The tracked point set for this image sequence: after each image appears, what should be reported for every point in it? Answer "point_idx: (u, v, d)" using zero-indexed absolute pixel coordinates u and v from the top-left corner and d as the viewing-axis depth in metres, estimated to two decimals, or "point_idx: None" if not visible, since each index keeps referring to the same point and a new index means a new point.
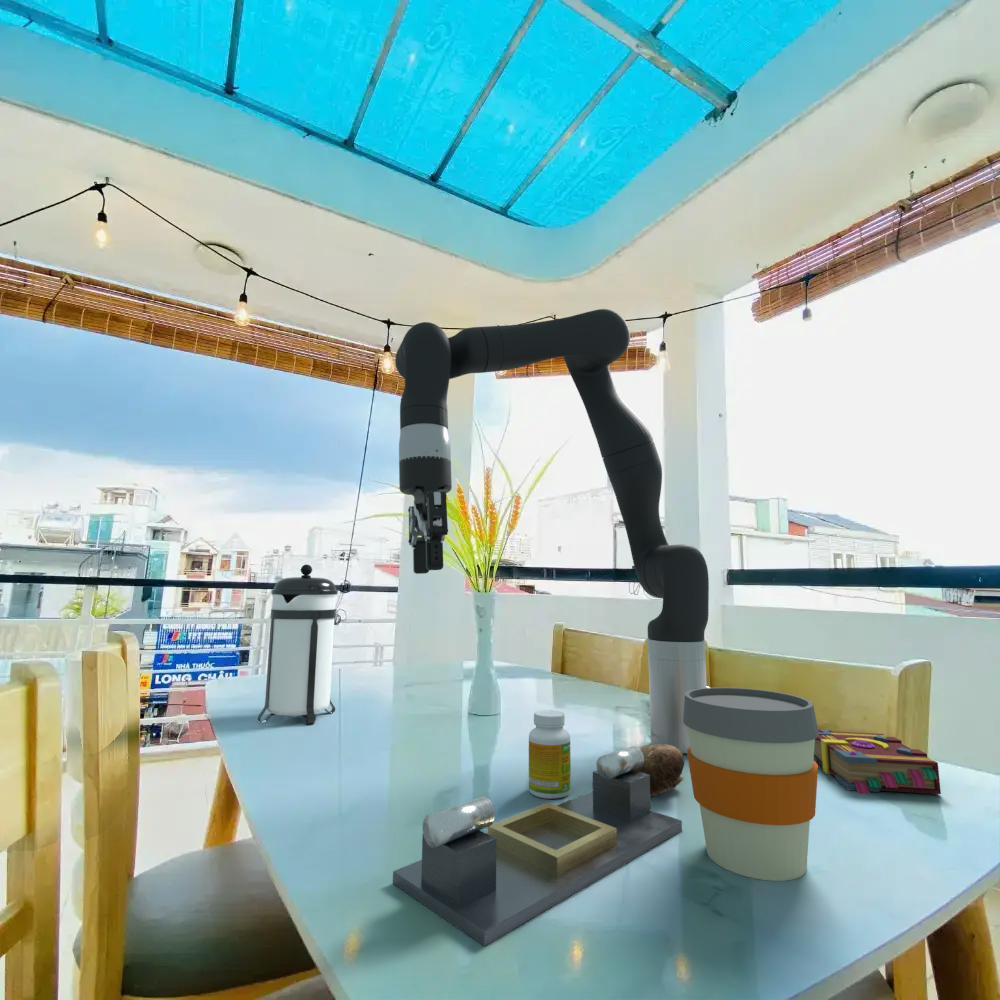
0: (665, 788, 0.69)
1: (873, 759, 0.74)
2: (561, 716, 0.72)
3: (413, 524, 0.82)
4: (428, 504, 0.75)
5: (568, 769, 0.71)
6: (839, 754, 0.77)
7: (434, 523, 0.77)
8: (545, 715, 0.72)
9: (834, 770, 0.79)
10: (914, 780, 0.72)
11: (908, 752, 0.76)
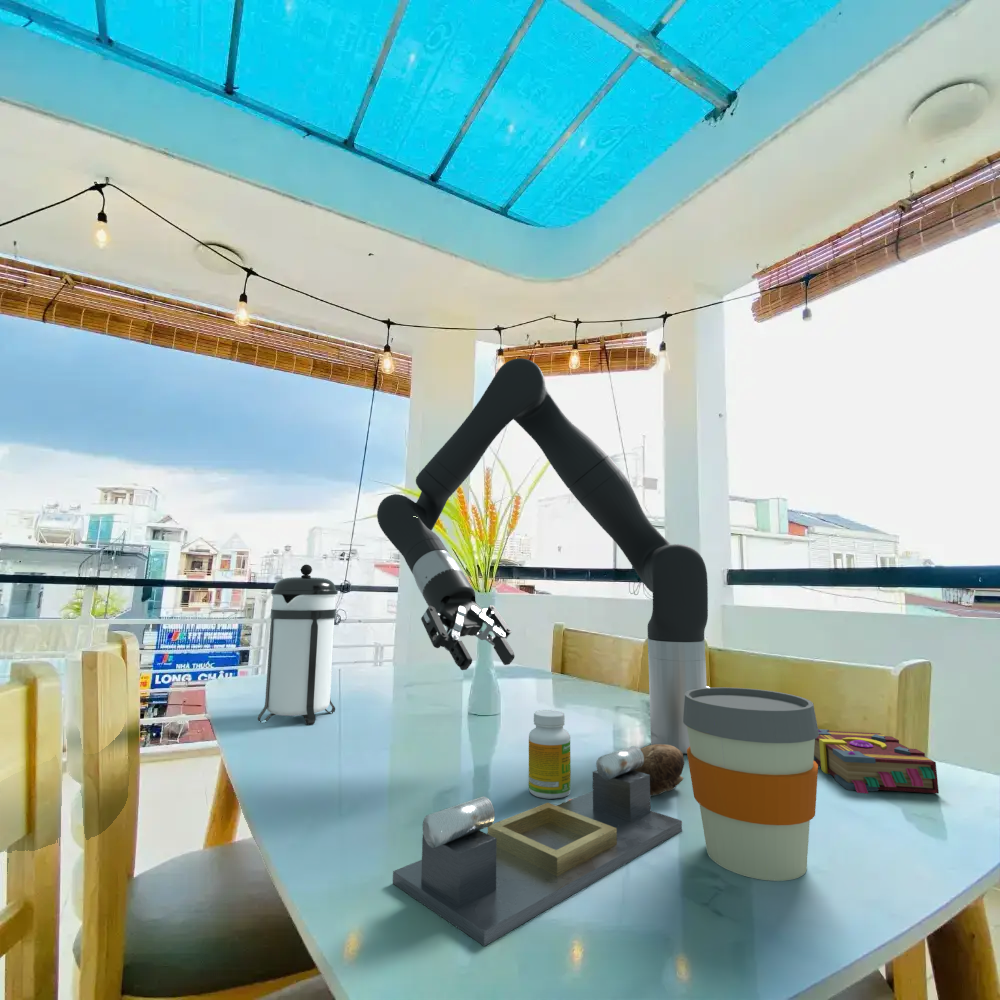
0: (665, 788, 0.69)
1: (871, 759, 0.74)
2: (561, 716, 0.72)
3: None
4: None
5: (568, 769, 0.71)
6: (837, 754, 0.77)
7: (450, 630, 0.84)
8: (545, 715, 0.72)
9: (832, 770, 0.79)
10: (912, 779, 0.73)
11: (906, 751, 0.76)
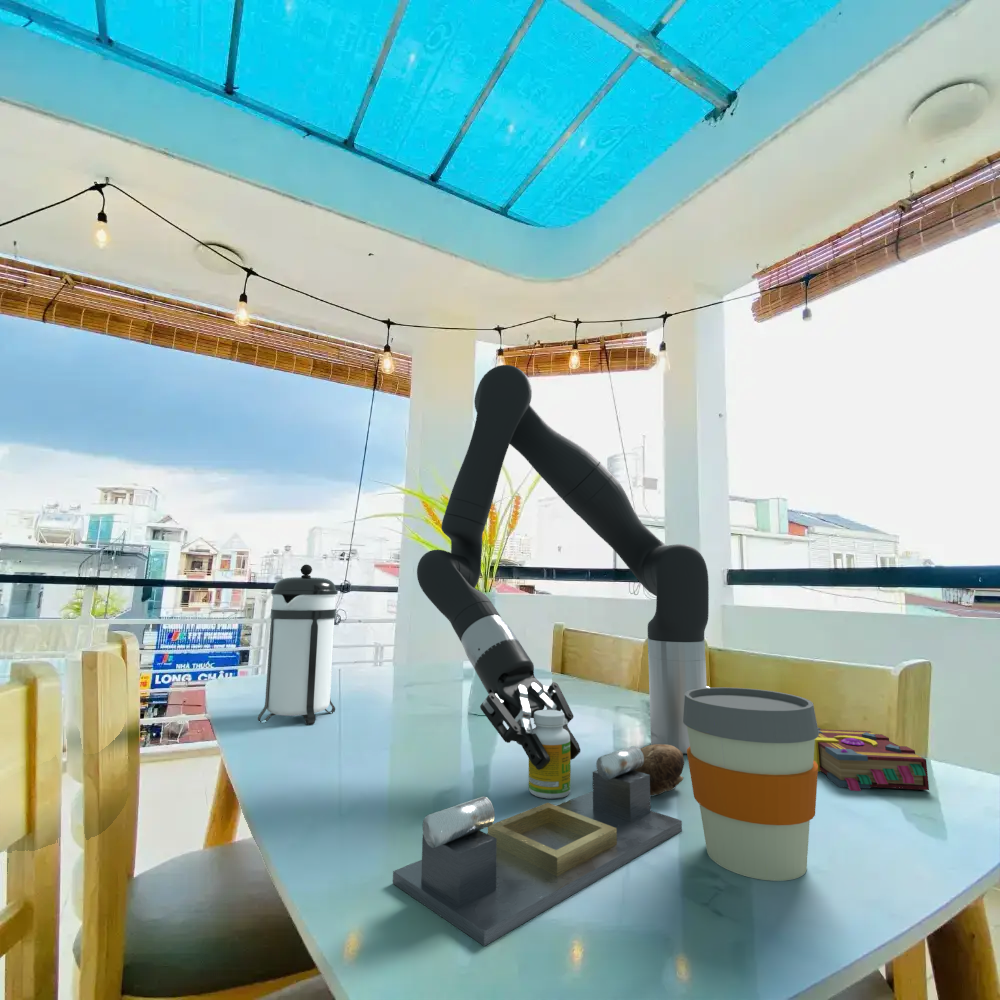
0: (665, 788, 0.69)
1: (864, 756, 0.75)
2: (561, 716, 0.72)
3: None
4: None
5: (568, 769, 0.71)
6: (830, 752, 0.78)
7: (517, 719, 0.73)
8: (545, 715, 0.72)
9: (825, 768, 0.80)
10: (903, 776, 0.74)
11: (897, 749, 0.77)
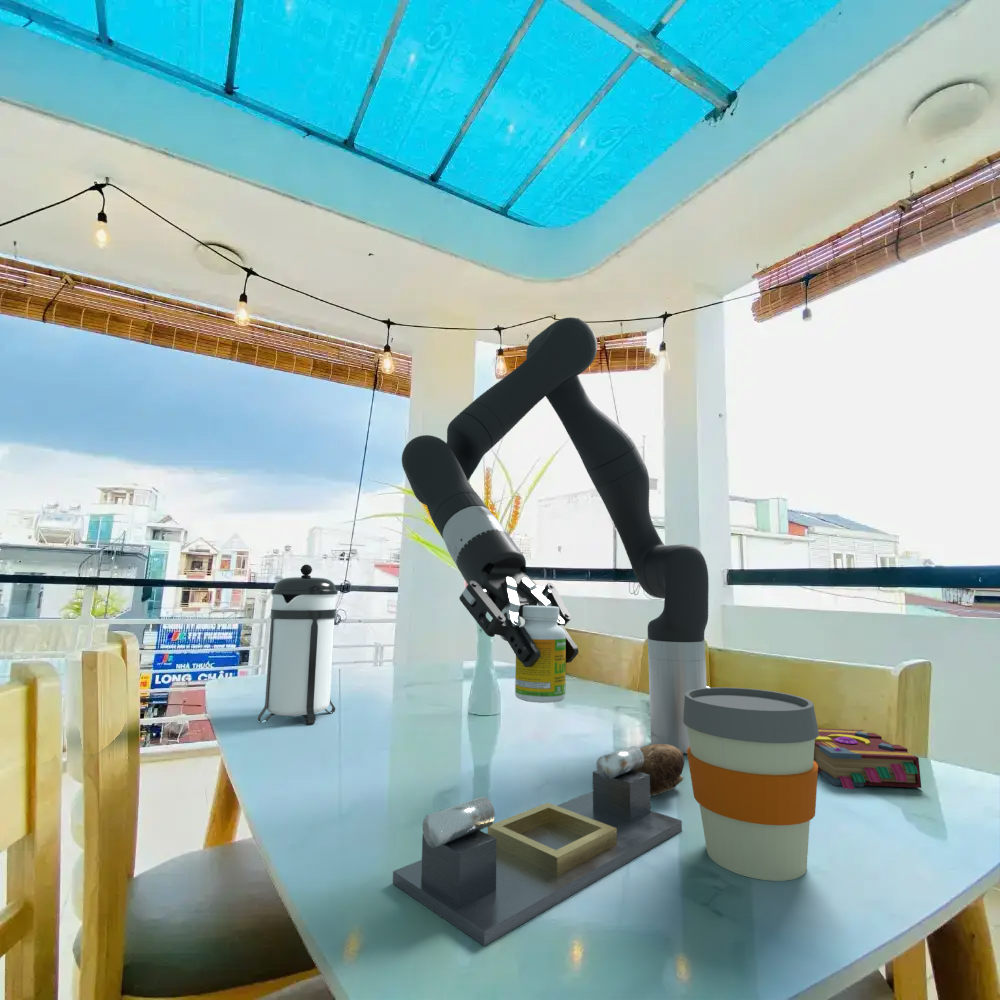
0: (665, 788, 0.69)
1: (857, 755, 0.76)
2: (555, 608, 0.61)
3: None
4: None
5: (562, 670, 0.60)
6: (824, 750, 0.78)
7: (503, 613, 0.61)
8: (536, 606, 0.61)
9: (819, 766, 0.81)
10: (896, 775, 0.74)
11: (890, 747, 0.78)
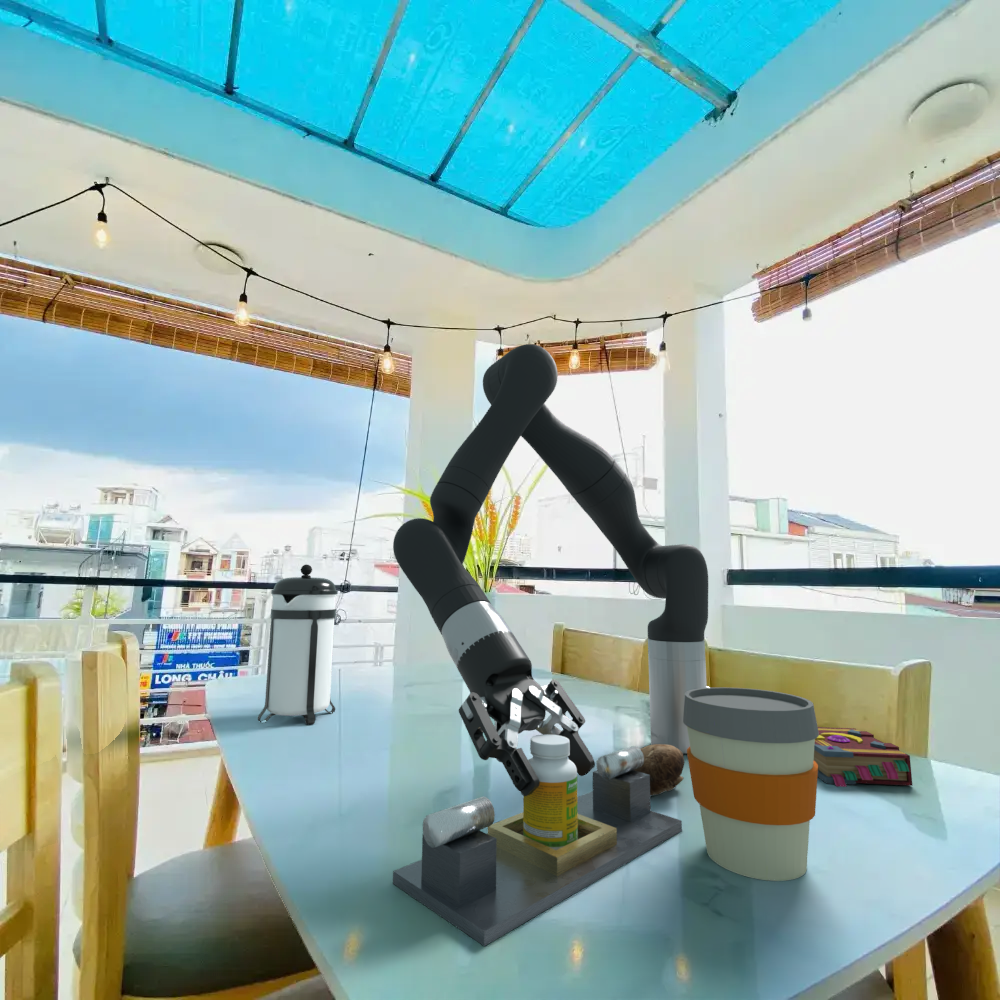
0: (665, 788, 0.69)
1: (850, 753, 0.77)
2: (565, 744, 0.56)
3: None
4: None
5: (575, 813, 0.55)
6: (817, 749, 0.79)
7: (502, 729, 0.57)
8: (545, 743, 0.56)
9: None
10: (888, 772, 0.75)
11: (881, 746, 0.79)
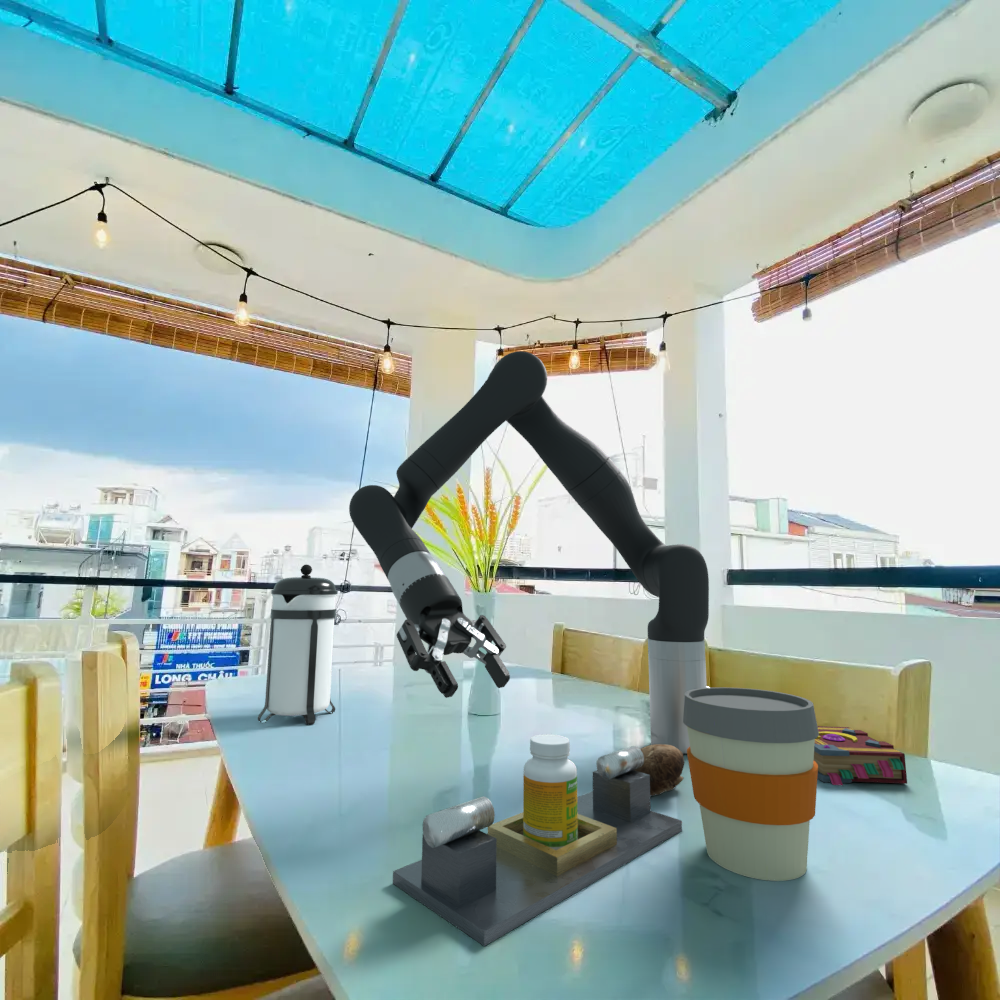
0: (665, 788, 0.69)
1: (846, 752, 0.77)
2: (565, 744, 0.56)
3: None
4: None
5: (575, 813, 0.55)
6: None
7: (431, 648, 0.69)
8: (545, 742, 0.56)
9: None
10: (883, 771, 0.76)
11: (876, 744, 0.80)
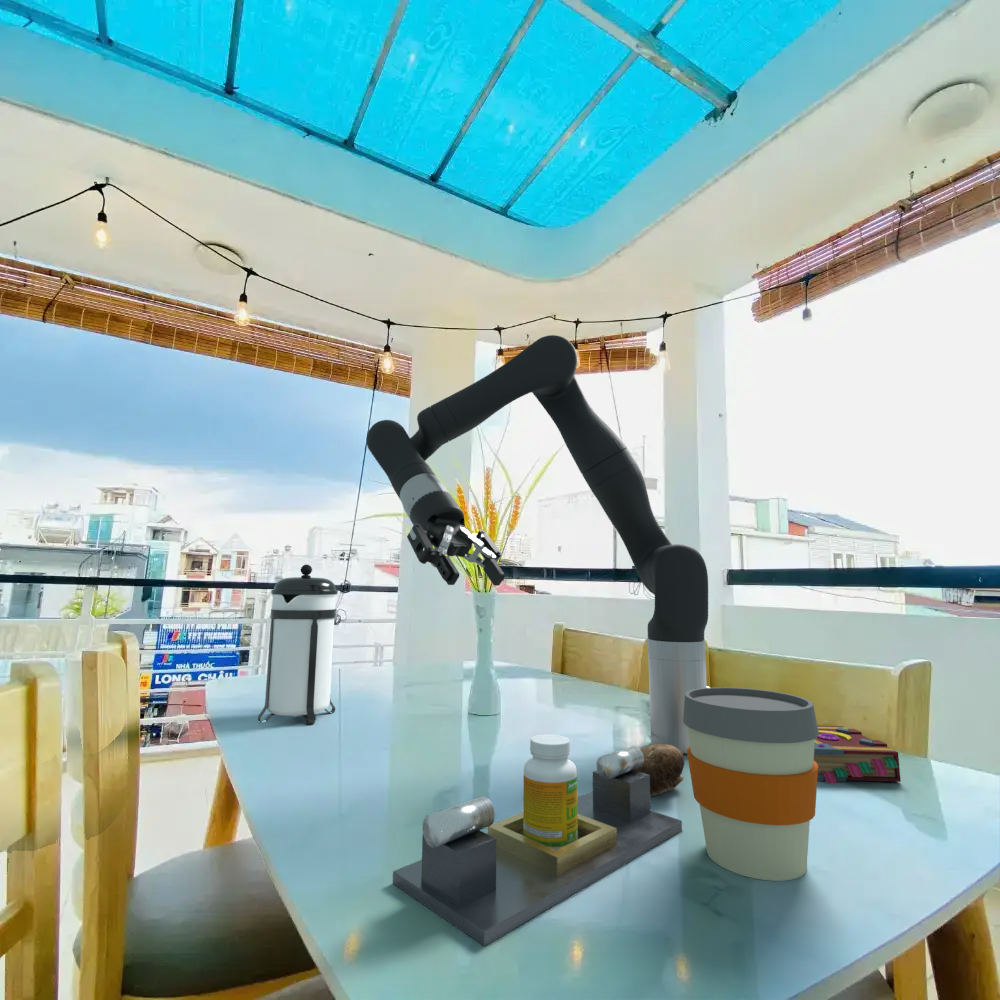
0: (665, 788, 0.69)
1: (840, 750, 0.78)
2: (565, 744, 0.56)
3: None
4: None
5: (575, 813, 0.55)
6: None
7: (437, 548, 0.80)
8: (545, 743, 0.56)
9: None
10: (877, 769, 0.77)
11: (870, 743, 0.80)
